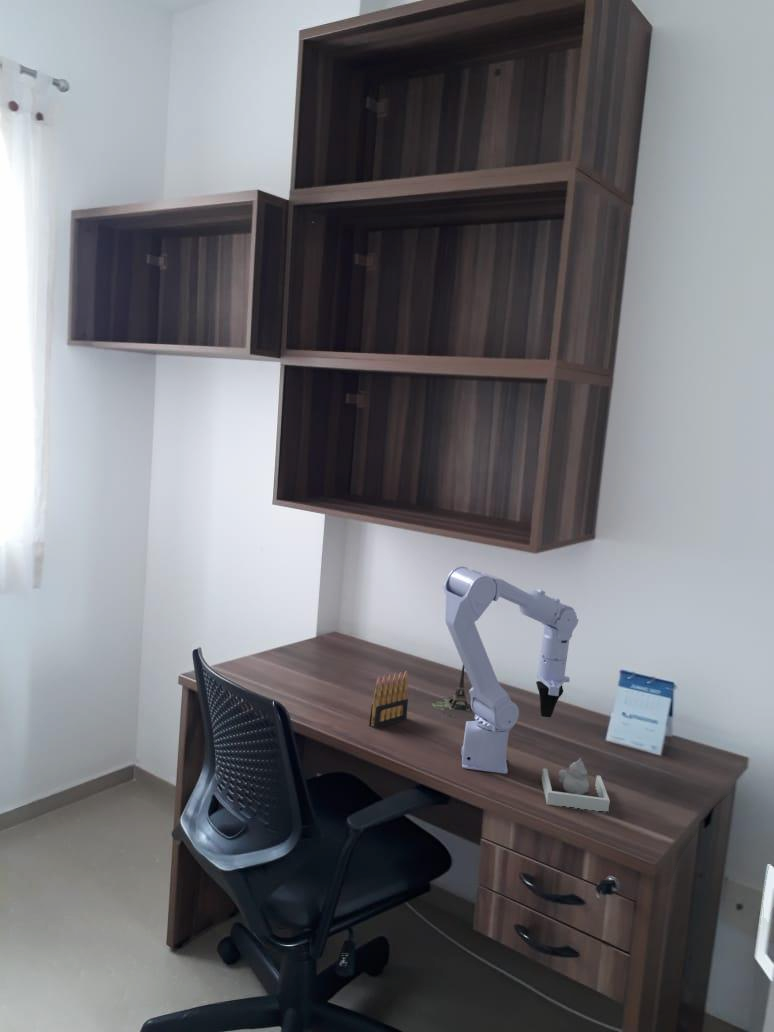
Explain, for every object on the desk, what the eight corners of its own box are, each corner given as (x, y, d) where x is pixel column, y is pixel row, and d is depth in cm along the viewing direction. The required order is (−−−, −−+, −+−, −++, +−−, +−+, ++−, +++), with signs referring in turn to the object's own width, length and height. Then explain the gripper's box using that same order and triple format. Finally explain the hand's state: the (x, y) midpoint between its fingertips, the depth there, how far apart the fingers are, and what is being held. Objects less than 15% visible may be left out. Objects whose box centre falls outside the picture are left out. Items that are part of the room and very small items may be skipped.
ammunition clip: (401, 716, 196) (406, 668, 194) (406, 719, 195) (411, 671, 193) (368, 725, 188) (373, 675, 187) (374, 728, 187) (379, 678, 185)
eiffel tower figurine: (459, 695, 216) (465, 647, 214) (490, 707, 209) (496, 657, 207) (423, 707, 205) (429, 656, 203) (455, 720, 198) (461, 668, 196)
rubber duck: (580, 802, 160) (585, 764, 159) (550, 790, 165) (555, 752, 164) (593, 794, 164) (598, 757, 163) (564, 782, 169) (569, 746, 168)
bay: (546, 804, 158) (548, 792, 158) (541, 779, 169) (543, 768, 169) (608, 812, 157) (609, 800, 157) (598, 787, 168) (600, 775, 168)
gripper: (576, 669, 170) (568, 730, 172) (567, 649, 184) (560, 706, 186) (542, 665, 171) (534, 726, 173) (536, 645, 185) (529, 702, 187)
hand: (545, 715), depth 179 cm, fingers closed
